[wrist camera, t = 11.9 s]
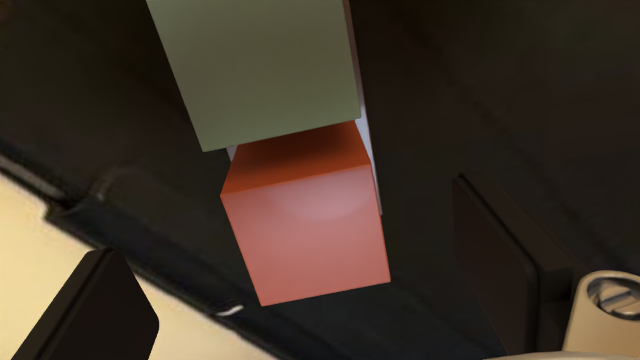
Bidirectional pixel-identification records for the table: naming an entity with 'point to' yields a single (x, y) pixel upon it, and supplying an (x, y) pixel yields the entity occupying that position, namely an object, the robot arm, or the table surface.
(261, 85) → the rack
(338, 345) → the table surface
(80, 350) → the robot arm
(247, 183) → the coral pink cube
